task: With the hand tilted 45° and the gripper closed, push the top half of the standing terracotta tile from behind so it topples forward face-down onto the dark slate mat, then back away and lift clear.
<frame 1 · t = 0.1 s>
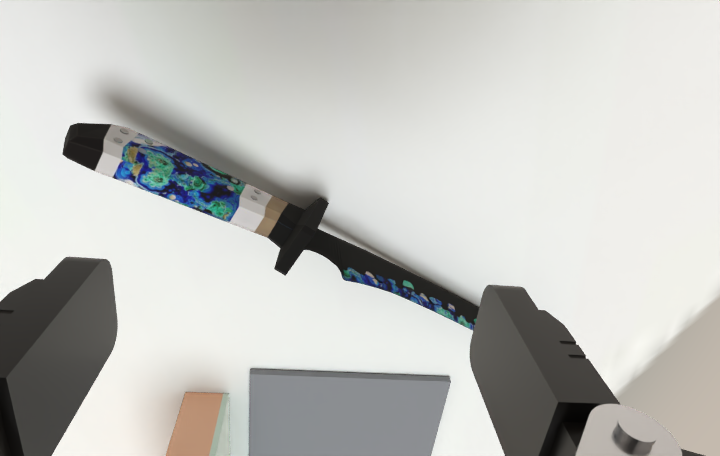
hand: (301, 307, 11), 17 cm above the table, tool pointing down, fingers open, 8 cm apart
slate mat: (342, 443, 39), on the table
tile: (209, 440, 38), on the table
knife: (353, 241, 31), on the table
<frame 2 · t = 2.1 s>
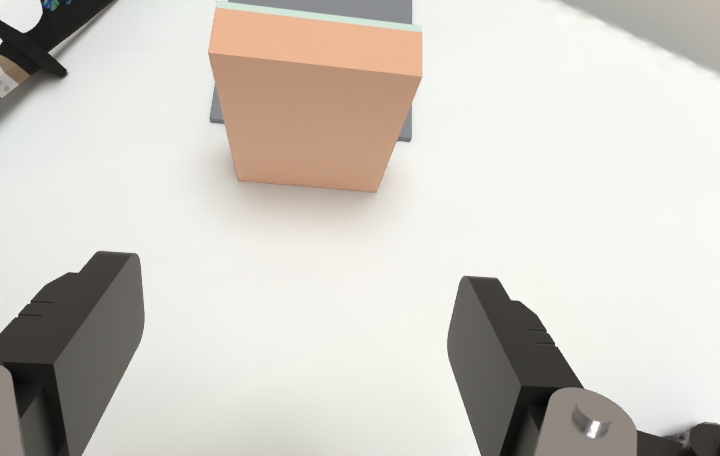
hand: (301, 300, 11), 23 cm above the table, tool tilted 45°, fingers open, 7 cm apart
slate mat: (318, 55, 41), on the table
tile: (309, 167, 37), on the table
knife: (80, 41, 39), on the table
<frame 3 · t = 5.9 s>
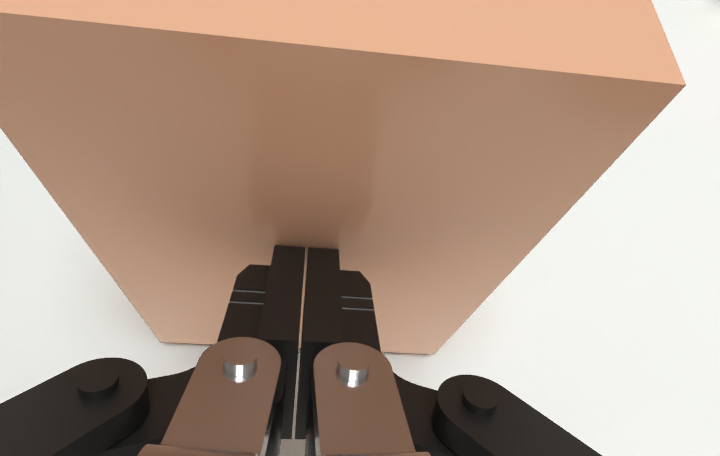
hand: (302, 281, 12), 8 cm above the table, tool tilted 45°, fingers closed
tile: (303, 309, 19), on the table, tilted 9°
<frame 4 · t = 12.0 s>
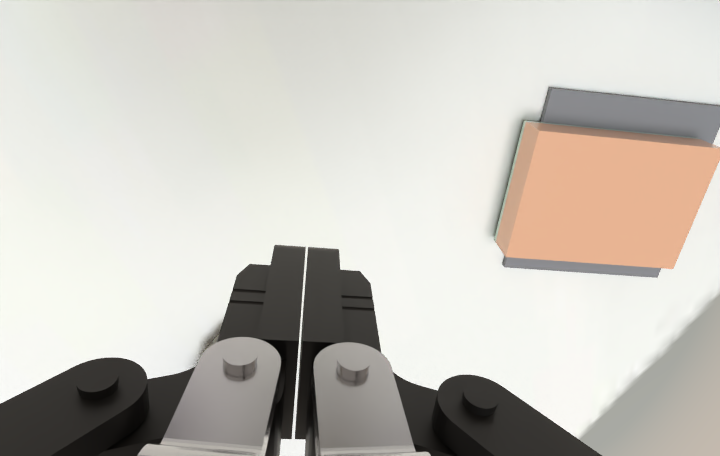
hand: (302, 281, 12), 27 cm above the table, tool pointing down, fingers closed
slate mat: (606, 189, 41), on the table
tile: (514, 190, 39), point 2 cm above the table, tilted 90°, touching slate mat
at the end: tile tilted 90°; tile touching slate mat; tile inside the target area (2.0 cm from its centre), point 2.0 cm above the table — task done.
